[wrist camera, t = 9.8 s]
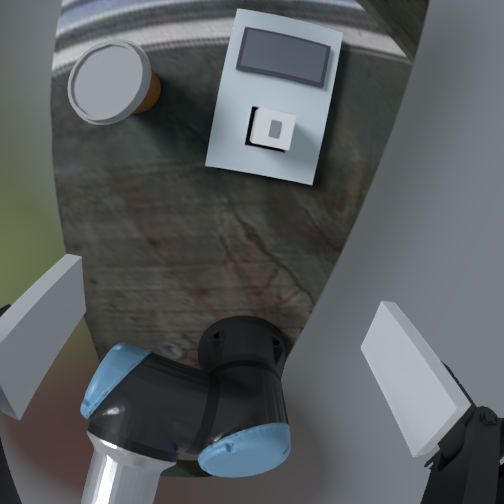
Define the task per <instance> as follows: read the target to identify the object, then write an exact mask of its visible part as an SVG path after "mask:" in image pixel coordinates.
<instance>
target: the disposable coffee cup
mask: <svg viewBox="0 0 504 504" xmlns="http://www.w3.org/2000/svg"><path fill="white" fill-rule="evenodd" d="M160 93H161V84H160V80H159V79H158V77H157V76H156V74H155V73H154V71H153V70H152V68H151V66H150V61H149V59H148V57H147V55H146V53H145V52H144V51H143V50H142V49H141V48H140V47H139V46H138V45H136V44H135V43H133V42H131V41H127V40H119V39H116V40H110V41H106V42H103V43H99V44H97V45H95V46H93V47H92V48H90V49H89V50H87V51H86V52H85V53H84V54H83V55H82V56H81V57H80V58H79V59H78V61H77V62H76V64H75V65H74V67H73V69H72V71H71V74H70V77H69V82H68V96H69V100H70V103H71V105H72V107H73V108H74V110H75V111H76V112H77V114H78V115H79V116H80V117H81V118H82V119H84V120H85V121H87V122H89V123H92V124H96V125H108V124H112V123H116V122H118V121H121V120H123V119H124V118H126V117H127V116H129V115H133V114H137V113H141V112H145V111H147V110H149V109H150V108H151V107H153V106H154V105H155V103H156V102H157V100H158V99H159V96H160Z"/></svg>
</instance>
